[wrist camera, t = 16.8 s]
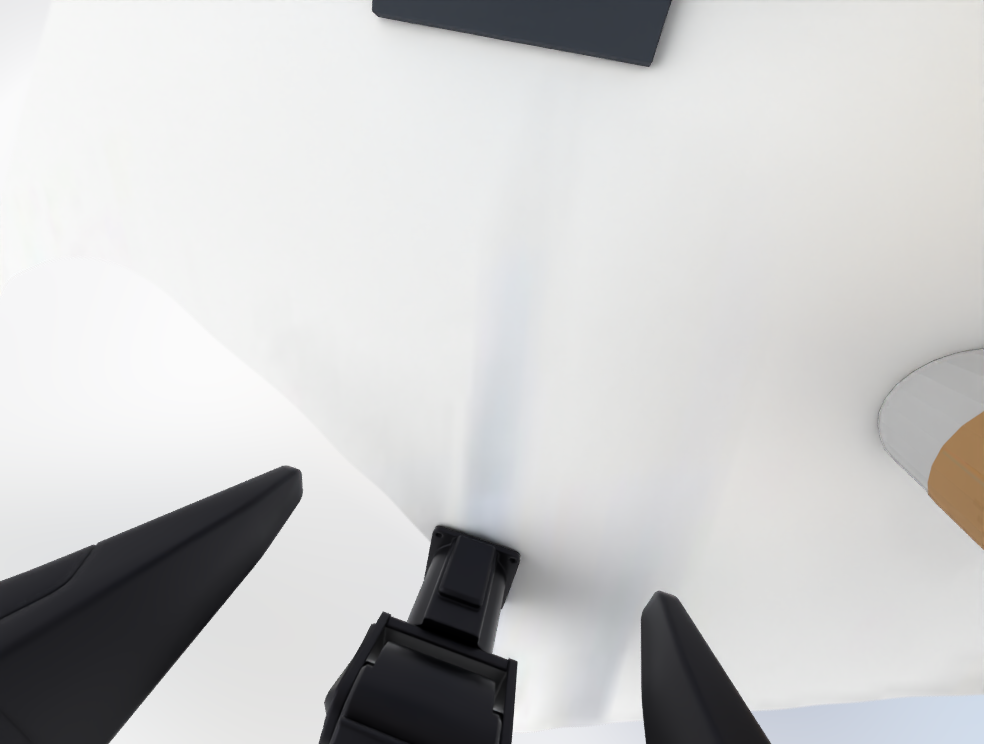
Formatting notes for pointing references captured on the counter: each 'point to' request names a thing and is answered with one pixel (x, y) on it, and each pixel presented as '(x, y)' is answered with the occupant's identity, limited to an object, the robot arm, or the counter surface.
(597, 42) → the mat
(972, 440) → the coffee cup
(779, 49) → the counter surface
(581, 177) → the counter surface
